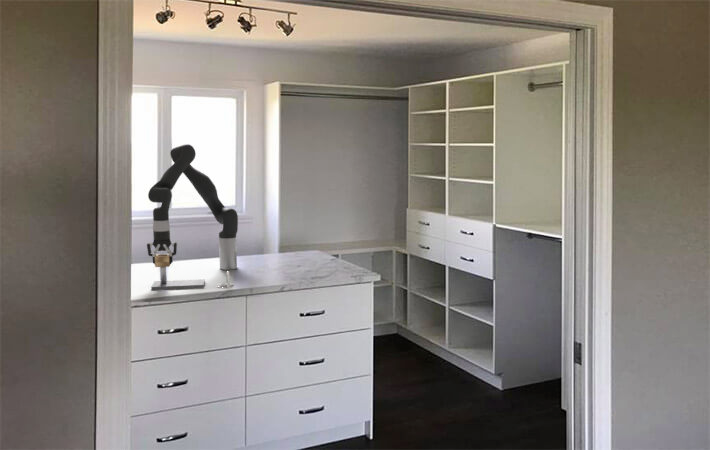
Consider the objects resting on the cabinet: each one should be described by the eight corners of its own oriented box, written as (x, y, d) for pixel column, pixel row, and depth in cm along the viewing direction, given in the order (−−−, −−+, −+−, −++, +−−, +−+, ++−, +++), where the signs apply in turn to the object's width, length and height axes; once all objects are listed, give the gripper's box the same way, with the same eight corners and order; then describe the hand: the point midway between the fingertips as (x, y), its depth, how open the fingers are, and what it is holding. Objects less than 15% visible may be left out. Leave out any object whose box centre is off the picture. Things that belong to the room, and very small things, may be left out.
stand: (216, 286, 306) (232, 285, 309) (217, 288, 302) (234, 287, 304) (215, 270, 305) (232, 269, 308) (216, 272, 301) (233, 271, 303)
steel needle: (167, 282, 306) (165, 255, 305) (166, 284, 304) (165, 256, 302) (161, 283, 306) (159, 255, 304) (160, 284, 303) (159, 256, 301)
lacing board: (205, 282, 314) (204, 279, 314) (203, 287, 303) (203, 284, 302) (154, 284, 310) (154, 281, 310) (151, 290, 298) (151, 286, 298)
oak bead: (170, 264, 307) (170, 253, 307) (169, 266, 301) (168, 256, 300) (156, 264, 306) (156, 254, 305) (155, 267, 300) (154, 256, 299)
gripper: (177, 228, 306) (179, 262, 308) (146, 228, 304) (148, 263, 306) (176, 230, 299) (177, 265, 301) (144, 231, 296) (146, 266, 299)
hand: (162, 264), depth 304 cm, fingers closed on oak bead, 6 cm apart
